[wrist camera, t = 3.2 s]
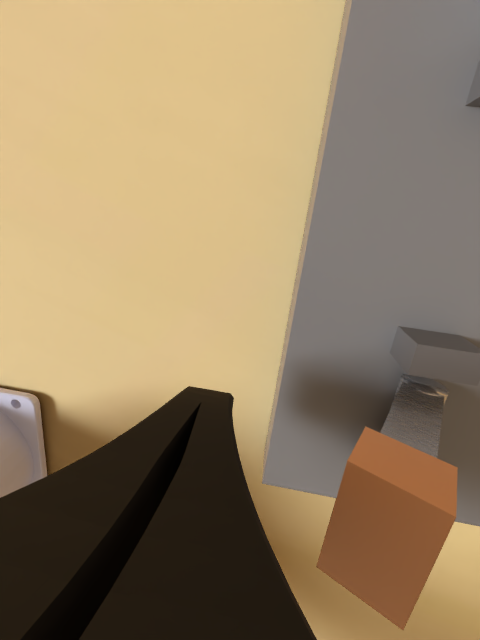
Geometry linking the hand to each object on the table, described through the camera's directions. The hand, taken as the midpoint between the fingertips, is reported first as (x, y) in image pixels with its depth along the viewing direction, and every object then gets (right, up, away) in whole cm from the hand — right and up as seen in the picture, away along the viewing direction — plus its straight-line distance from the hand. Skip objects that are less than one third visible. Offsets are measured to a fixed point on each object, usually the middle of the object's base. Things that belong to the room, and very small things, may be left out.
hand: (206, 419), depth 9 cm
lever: (+7, 0, +2) cm, 7 cm away
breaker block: (+11, +6, +2) cm, 13 cm away
